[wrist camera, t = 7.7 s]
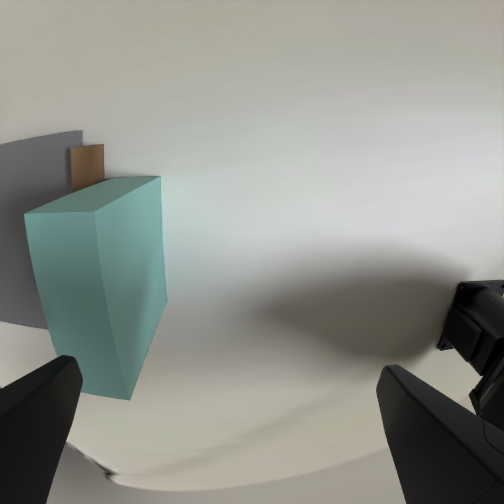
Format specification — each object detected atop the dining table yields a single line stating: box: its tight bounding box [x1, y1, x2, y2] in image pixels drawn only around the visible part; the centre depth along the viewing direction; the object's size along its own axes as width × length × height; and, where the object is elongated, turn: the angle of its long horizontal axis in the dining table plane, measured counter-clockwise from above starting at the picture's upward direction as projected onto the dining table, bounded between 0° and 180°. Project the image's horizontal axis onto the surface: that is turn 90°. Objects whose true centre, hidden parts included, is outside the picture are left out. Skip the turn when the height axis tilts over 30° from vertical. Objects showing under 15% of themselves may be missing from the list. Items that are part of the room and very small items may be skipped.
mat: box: [0, 131, 82, 330], centre depth 18 cm, size 13×14×1 cm
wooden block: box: [71, 144, 105, 193], centre depth 18 cm, size 2×12×2 cm, turn 178°
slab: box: [24, 176, 167, 400], centre depth 14 cm, size 3×8×9 cm, turn 178°
